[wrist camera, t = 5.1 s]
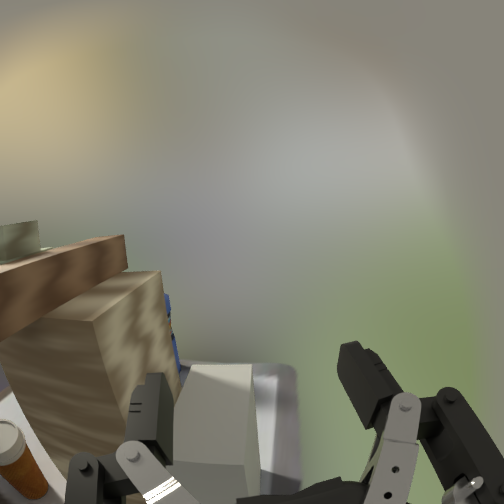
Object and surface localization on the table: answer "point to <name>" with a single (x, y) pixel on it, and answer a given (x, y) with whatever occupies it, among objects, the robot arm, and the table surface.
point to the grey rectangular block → (217, 435)
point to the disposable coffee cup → (19, 462)
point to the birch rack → (86, 358)
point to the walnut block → (55, 279)
